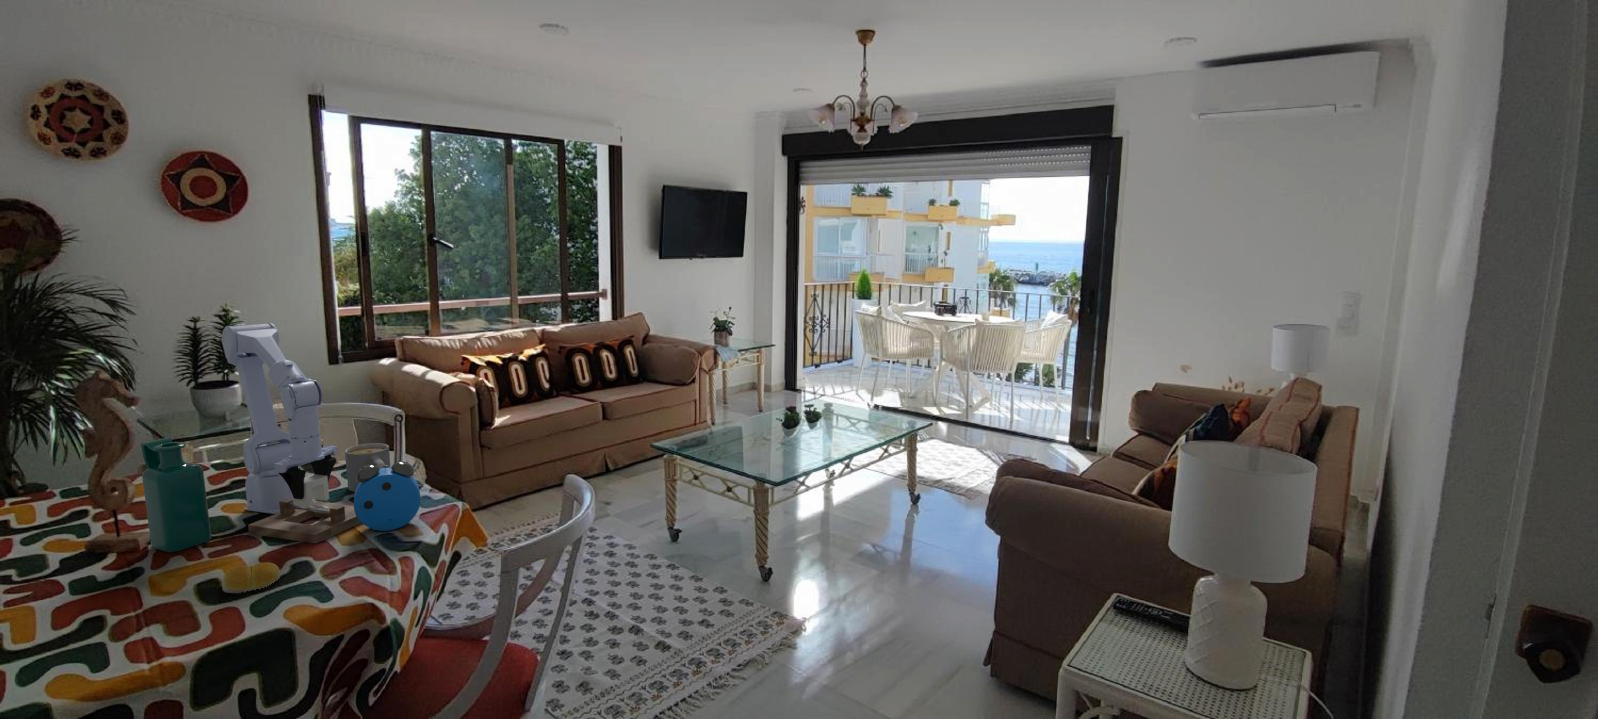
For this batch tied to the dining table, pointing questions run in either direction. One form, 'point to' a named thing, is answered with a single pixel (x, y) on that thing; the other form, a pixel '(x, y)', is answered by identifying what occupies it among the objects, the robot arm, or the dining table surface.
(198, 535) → the teal bottle
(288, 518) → the shelf
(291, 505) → the hook bar
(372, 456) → the coffee mug
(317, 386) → the robot arm
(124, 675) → the dining table surface
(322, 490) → the grey u-slotted block
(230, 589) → the bread roll
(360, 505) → the alarm clock
